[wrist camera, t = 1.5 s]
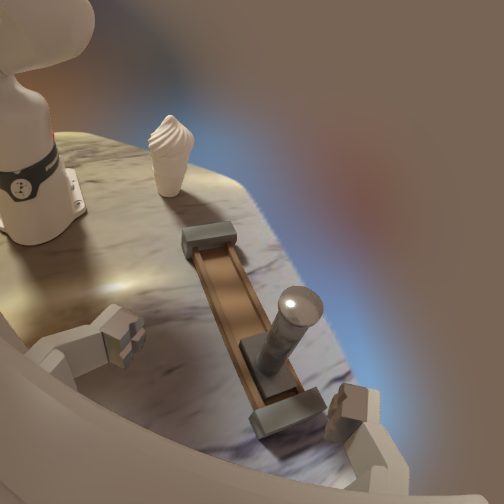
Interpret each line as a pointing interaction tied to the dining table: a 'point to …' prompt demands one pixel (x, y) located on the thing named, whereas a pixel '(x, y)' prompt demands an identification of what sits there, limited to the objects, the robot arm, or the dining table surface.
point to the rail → (243, 324)
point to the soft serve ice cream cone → (170, 155)
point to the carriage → (281, 342)
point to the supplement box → (11, 335)
